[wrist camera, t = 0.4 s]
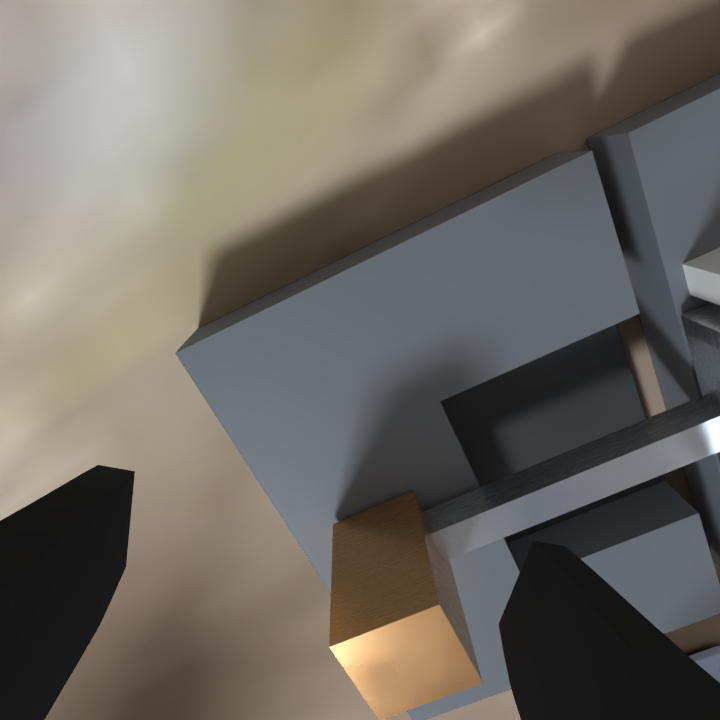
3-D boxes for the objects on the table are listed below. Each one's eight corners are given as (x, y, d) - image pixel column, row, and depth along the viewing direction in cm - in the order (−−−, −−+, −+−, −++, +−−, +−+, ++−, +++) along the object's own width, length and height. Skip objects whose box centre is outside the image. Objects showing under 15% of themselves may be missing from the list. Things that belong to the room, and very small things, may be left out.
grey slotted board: (1076, 417, 20) (1173, 450, 18) (407, 668, 24) (414, 723, 21) (1088, -108, 14) (1235, -163, 12) (197, 328, 18) (175, 353, 15)
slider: (910, 423, 17) (1117, 516, 12) (393, 624, 19) (409, 764, 15) (889, 224, 15) (1133, 249, 10) (305, 478, 17) (291, 591, 12)
